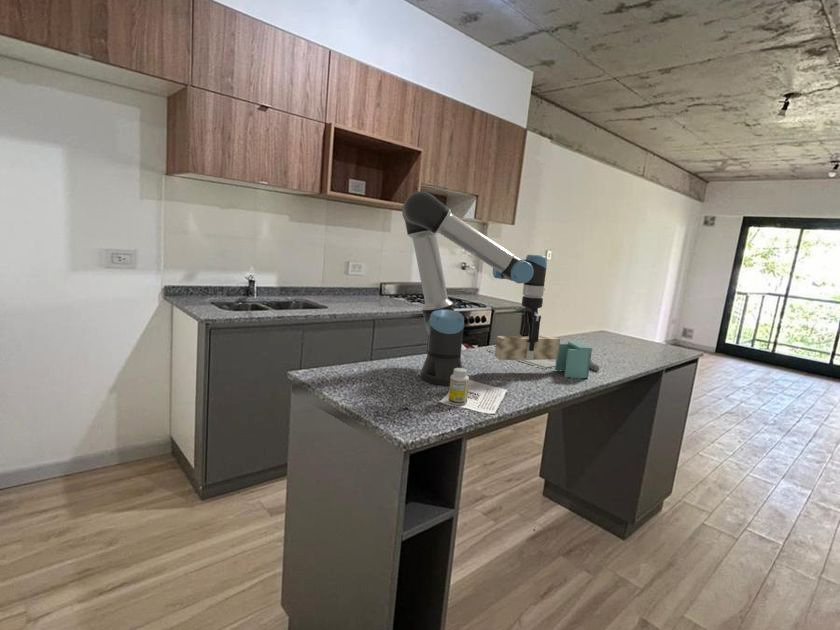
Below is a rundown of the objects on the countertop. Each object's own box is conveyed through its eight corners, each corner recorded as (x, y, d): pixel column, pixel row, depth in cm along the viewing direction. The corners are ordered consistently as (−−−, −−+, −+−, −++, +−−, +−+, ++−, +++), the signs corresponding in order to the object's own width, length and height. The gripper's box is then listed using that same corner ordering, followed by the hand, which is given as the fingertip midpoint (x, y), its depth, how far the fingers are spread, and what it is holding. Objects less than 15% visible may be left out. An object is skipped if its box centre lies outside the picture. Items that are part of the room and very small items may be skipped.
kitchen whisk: (591, 373, 181) (593, 358, 180) (559, 352, 215) (561, 339, 214) (606, 374, 182) (608, 358, 181) (572, 353, 215) (573, 340, 214)
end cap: (565, 377, 171) (569, 346, 169) (554, 370, 181) (558, 340, 179) (587, 378, 172) (592, 348, 170) (576, 371, 182) (580, 342, 180)
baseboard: (542, 371, 180) (559, 368, 187) (543, 364, 179) (560, 361, 187) (485, 352, 203) (503, 350, 211) (485, 346, 203) (503, 344, 211)
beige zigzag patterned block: (500, 360, 168) (502, 338, 166) (494, 356, 172) (496, 336, 171) (557, 359, 174) (560, 339, 173) (550, 356, 179) (553, 336, 177)
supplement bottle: (457, 398, 140) (460, 366, 138) (470, 403, 135) (473, 370, 134) (444, 401, 136) (447, 368, 134) (457, 407, 132) (460, 373, 130)
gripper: (552, 300, 161) (545, 363, 165) (533, 293, 179) (527, 351, 183) (532, 299, 160) (525, 363, 164) (514, 293, 178) (509, 350, 181)
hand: (526, 356), depth 173 cm, fingers closed on beige zigzag patterned block, 5 cm apart
